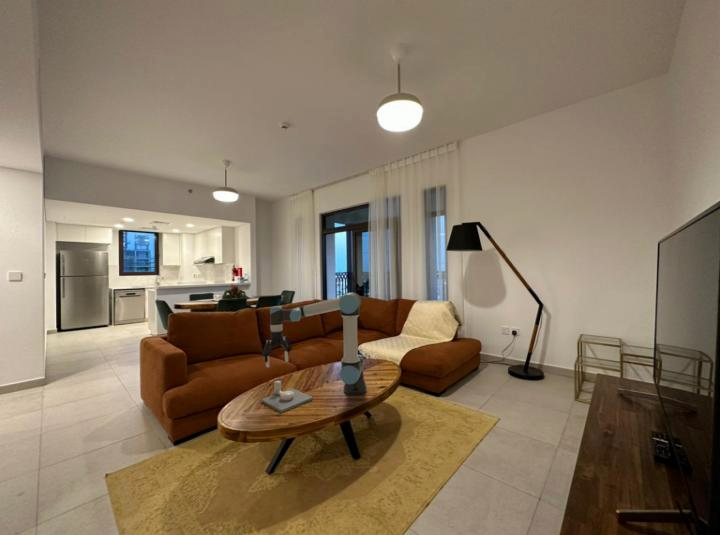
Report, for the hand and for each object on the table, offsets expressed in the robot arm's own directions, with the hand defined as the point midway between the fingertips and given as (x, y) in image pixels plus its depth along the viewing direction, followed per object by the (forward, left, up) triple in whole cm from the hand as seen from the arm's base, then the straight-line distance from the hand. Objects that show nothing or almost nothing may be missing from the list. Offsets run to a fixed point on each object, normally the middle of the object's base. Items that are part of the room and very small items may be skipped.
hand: (277, 364), depth 182 cm
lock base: (-11, 0, -20) cm, 23 cm away
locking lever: (-6, 0, -18) cm, 19 cm away
